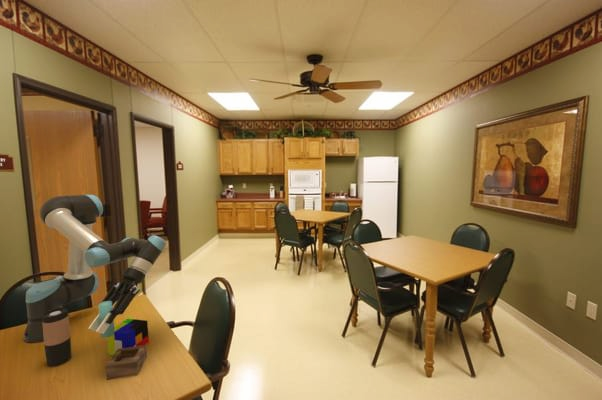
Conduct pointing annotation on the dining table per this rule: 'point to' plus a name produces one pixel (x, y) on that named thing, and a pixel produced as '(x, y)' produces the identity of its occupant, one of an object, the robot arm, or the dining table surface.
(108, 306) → the teal dowel
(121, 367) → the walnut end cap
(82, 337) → the dining table surface
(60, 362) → the travel mug
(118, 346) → the puzzle toy
